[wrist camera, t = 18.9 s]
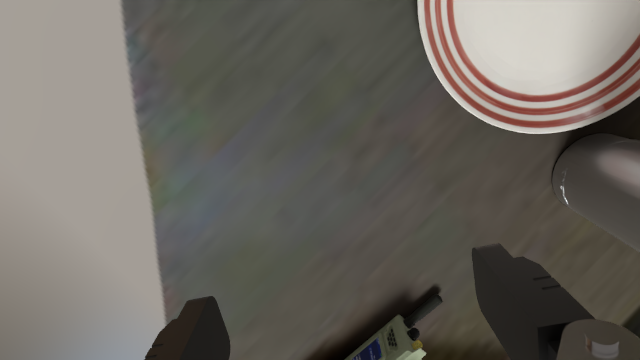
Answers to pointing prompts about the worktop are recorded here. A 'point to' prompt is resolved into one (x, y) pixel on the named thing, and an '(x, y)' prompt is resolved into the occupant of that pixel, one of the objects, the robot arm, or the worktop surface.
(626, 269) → the worktop surface
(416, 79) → the worktop surface
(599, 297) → the worktop surface
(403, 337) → the handheld radio
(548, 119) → the dinner plate
